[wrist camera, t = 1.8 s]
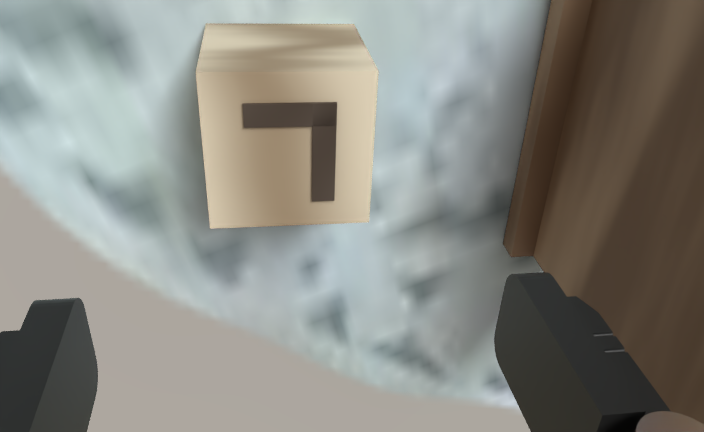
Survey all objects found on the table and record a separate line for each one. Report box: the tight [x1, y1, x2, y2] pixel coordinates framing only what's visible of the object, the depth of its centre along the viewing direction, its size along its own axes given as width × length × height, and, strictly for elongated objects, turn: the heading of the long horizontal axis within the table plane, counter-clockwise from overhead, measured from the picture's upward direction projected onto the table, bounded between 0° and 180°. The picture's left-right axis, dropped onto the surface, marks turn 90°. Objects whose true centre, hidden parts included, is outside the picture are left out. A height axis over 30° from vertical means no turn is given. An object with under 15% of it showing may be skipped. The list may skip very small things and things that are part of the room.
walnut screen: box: [503, 0, 704, 424], centre depth 19 cm, size 4×14×12 cm, turn 178°
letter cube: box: [196, 24, 378, 229], centre depth 21 cm, size 5×5×5 cm
